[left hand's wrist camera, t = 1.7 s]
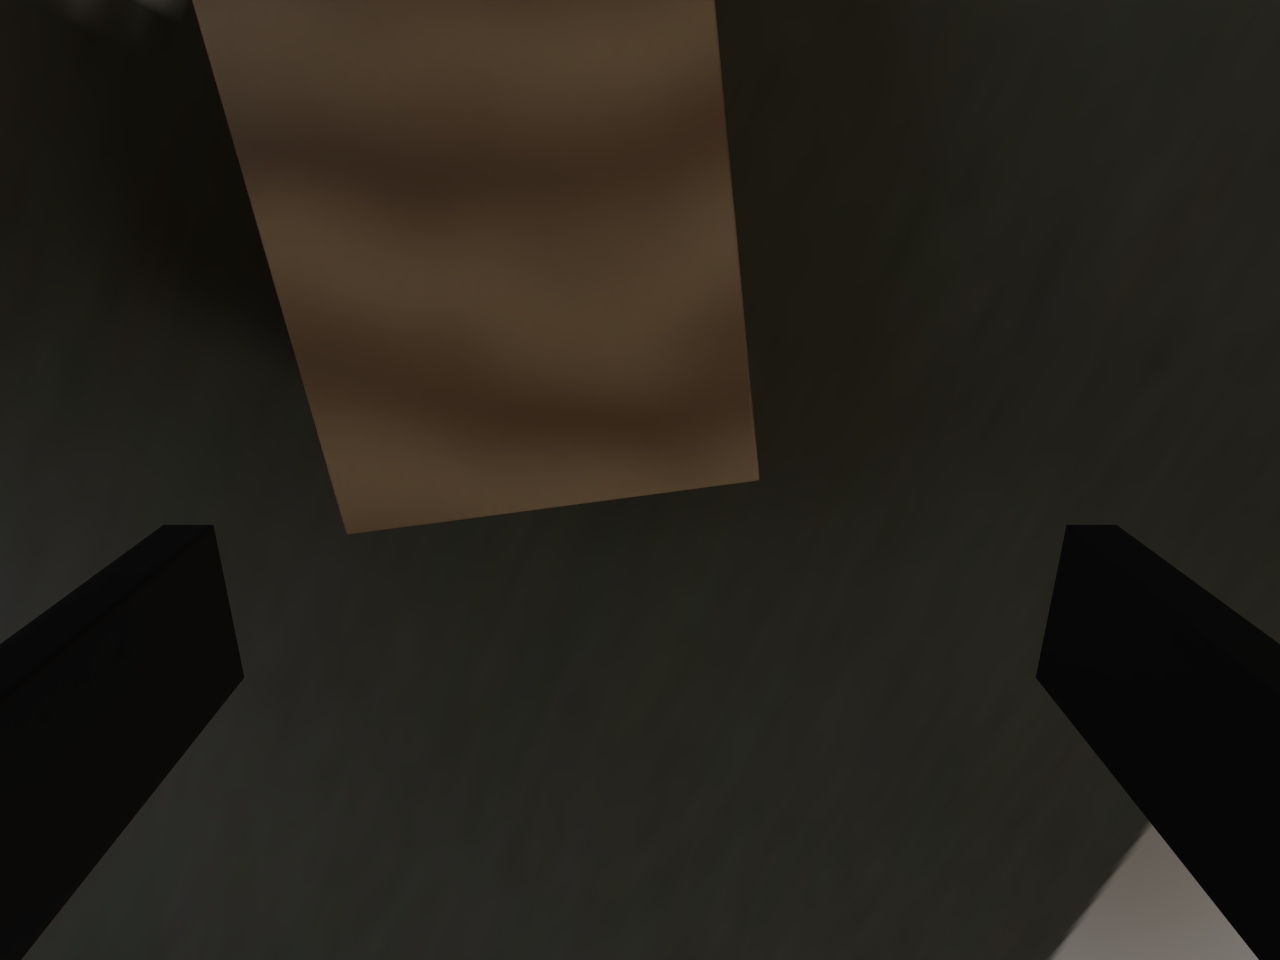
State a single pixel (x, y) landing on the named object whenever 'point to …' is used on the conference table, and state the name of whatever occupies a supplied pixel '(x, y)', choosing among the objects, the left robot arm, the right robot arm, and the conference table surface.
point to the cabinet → (496, 245)
